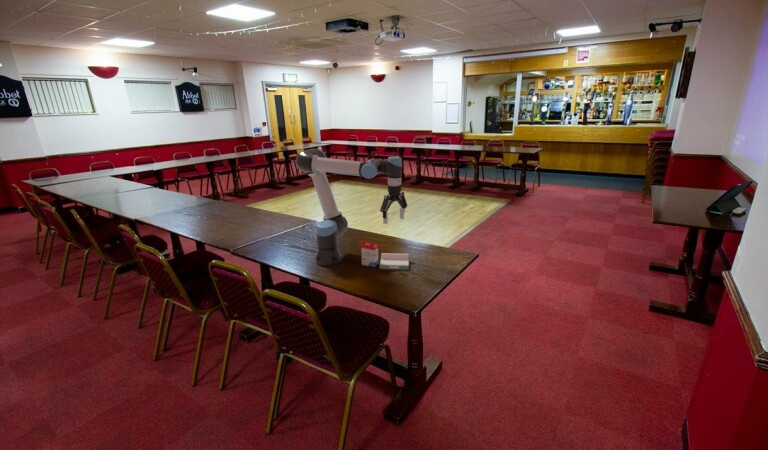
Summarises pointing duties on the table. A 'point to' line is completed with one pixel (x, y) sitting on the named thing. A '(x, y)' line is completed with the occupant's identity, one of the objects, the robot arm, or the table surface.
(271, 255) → the table surface
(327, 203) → the robot arm
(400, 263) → the shelf
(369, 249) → the ink box
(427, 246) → the table surface
